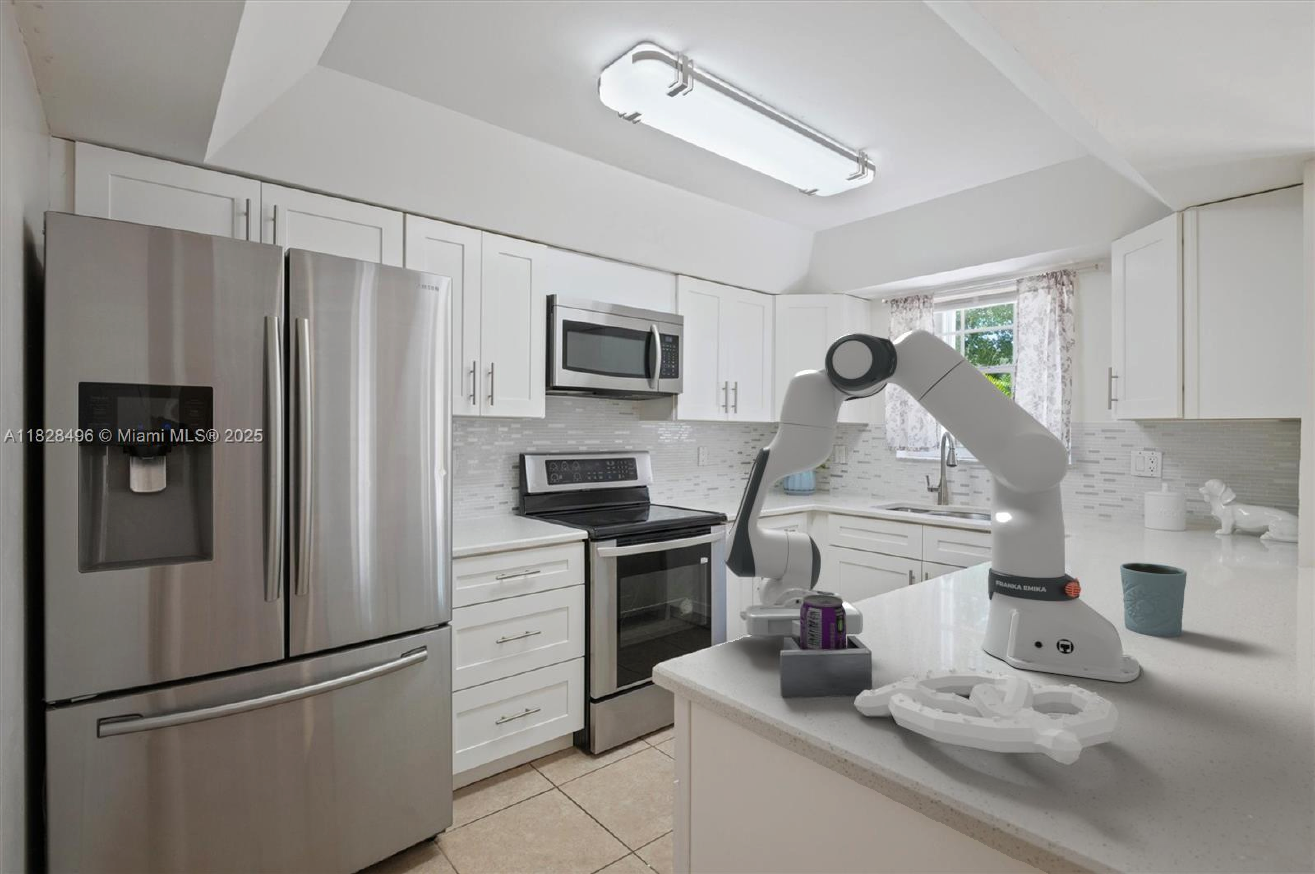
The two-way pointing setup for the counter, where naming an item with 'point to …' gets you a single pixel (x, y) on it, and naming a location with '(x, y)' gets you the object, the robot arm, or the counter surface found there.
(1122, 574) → the teal embossed flower pot
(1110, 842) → the counter surface
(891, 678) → the counter surface
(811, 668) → the grey u-shaped holder
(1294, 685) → the counter surface
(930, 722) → the pretzel
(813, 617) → the beverage can
